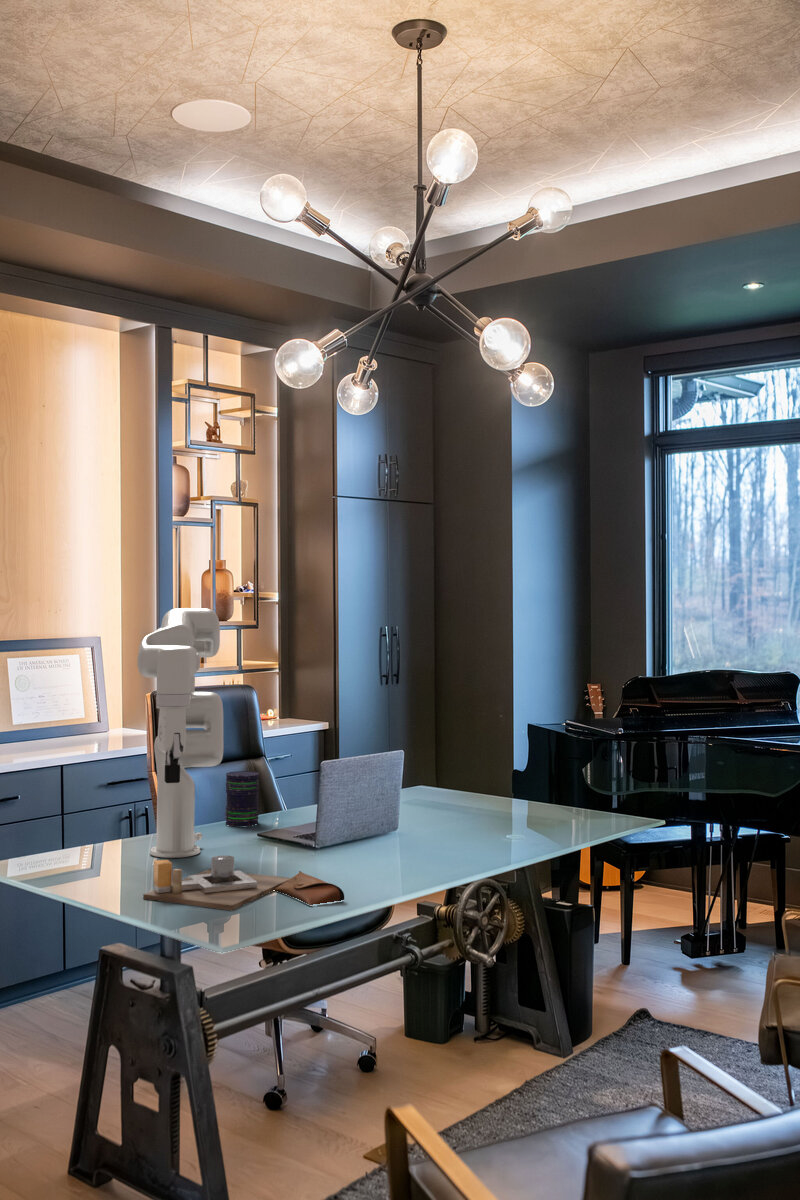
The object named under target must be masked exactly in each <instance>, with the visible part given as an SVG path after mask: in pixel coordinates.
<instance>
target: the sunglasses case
mask: <svg viewBox="0 0 800 1200" xmlns="http://www.w3.org/2000/svg"><path fill="white" fill-rule="evenodd" d="M290 878H291V879H289V880H288V881H286V882H285V883H283V884H282V885H280V886H279V887H277V888H276V889H274V890H275V891H278V892H281V893H284V894H287V895H289V896H291V897H294V898H297V899H299V900H301V901H303V902H305V903H307V904H309V905H313V904H320V903H327V902H334V901H341V900H344V901H345V893H344V891H343V890H342V888H341V887H339V886H338V885H336V884H333V883H330V882H326V881H323V880H321V878H320V879H319V878H317V877H314V876H311V875H309V874H306V873H304V872H302V871H301V870H299V871H298V873H297V874H295V875H294V876H292V877H290ZM275 891H274V892H275ZM278 892H277V893H278ZM281 893H280V894H281ZM284 894H283V895H284ZM291 897H290V898H291Z"/></svg>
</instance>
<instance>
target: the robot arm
mask: <svg viewBox="0 0 800 1200" xmlns="http://www.w3.org/2000/svg"><path fill="white" fill-rule="evenodd" d="M220 624H221V623H220V620H219V617H218V615H217V613H216V612H215V611H214V610H213V609H211V608H197V607H196V608H193V607H191V608H189V607H184V608H183V607H181V608H179V607H178V608H172V609H170V610H168V611H167V612H166V613H165V614H164V616H163V617H162V620H161V626H160V627H159V628H157V629H156V630H155V631H153V632H151V633H149V634H147V635H146V636H144V638H143V639H141V641H140V644H139V647H138V648H139V649H138V653H137V659H136V660H137V662H136V663H137V664H136V665H137V670H138V672H139V674H140V675H141V676H142V677H145V678H150V679H151V678H154V679H155V678H156V705H155V706H156V709H159V715H158V728H157V736H156V737H155V740H154V749H153V750H154V757H155V763H156V776H157V777H156V781H157V783H156V785H157V789H156V790H157V792H156V793H157V795H156V845H155V846H152V847H151V848H150V849H149V851H150V852H149V854H150V855H151V856H153V857H156V858H163V859H165V858H166V859H174V858H175V859H176V858H177V859H179V858H189V857H192V856H196V855H198V854H200V852H201V847H200V846H198V845H196V842H197V841H200V840H202V839H203V833H202V832H195V803H196V802H195V801H196V798H195V796H196V794H195V793H196V787H195V786H196V784H195V781H194V779H193V778H192V777H191V775H190V774H189V773H188V772H187V771H186V768H196V767H197V768H205V767H206V768H207V767H209V768H211V767H215V766H219V765H220V764H221V762H222V761H223V759H224V758H223V757H224V706H223V701H222V698H221V696H220V695H219V693H218V694H217V693H216V692H213V691H212V692H211V691H196V690H195V687H196V677H195V675H196V674H197V673H198V671H199V670H200V666H201V658H214V656H216V655H217V654H218V652H219V649H220V645H221V644H220V641H221V626H220Z"/></svg>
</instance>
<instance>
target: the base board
mask: <svg viewBox="0 0 800 1200" xmlns="http://www.w3.org/2000/svg"><path fill="white" fill-rule="evenodd" d="M210 873H211V868H209V869H206V870H204V871H201V872H198V873H195V874H194V875H200V874H210ZM243 873H244V874H246V875H247V876H249V877H251V878H252V879H254V880H255V881H257V887H255V888H246V889H237V890H228V891H219V892H210V893H203V892H202V891H201V890H200V889H192V890H183V891H182V893H181V894H172V892H165V893H157V892H156V891H155V890H154V889H153V890H151V891H149V892H146V893H144V894H142V895H143V896H142V897H143V898H142V899H143V900H147V899H150V901H155V900H158V901H157V902H163V901H165V902H166V903H171V902H172V903H173V904H178V903H180V905H187V906H195V907H204V908H209V909H217V910H225V909H226V911H234V910H236V909H238V908H240V907H243V906H245V905H247V904H248V903H251V902H253V901H255V900H257V898H258V899H260V898H262V897H263V896H262V895H264V896H266V895H268V894H270V893H272V892H271V891H273V890H274V889H276V888H277V887H279V886H280V885H282V884H283V883H285V882H286V881H288V880H289V879H291V878H292V877H286V876H285V877H281V876H276V875H275V876H274V875H266V874H264V875H263V874H257V873H256V874H255V873H247V872H243ZM188 878H189V876H187V877H185V878H182V881H186V880H188ZM209 882H210V883H211V881H209ZM234 882H235V880H234ZM269 892H270V893H269ZM273 892H274V891H273ZM267 893H268V894H267ZM265 894H266V895H265ZM261 896H262V897H261ZM259 897H260V898H259ZM246 903H247V904H246ZM244 904H245V905H244ZM233 909H234V910H233Z"/></svg>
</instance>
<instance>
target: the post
mask: <svg viewBox="0 0 800 1200" xmlns="http://www.w3.org/2000/svg"><path fill="white" fill-rule="evenodd" d="M210 861H211V862H210V863H211V865H210V866H211V867H210V869H211V884H216V883H225V882H234V871H235V857H234V856H232V855H215V856H212V857H211V860H210Z"/></svg>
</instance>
